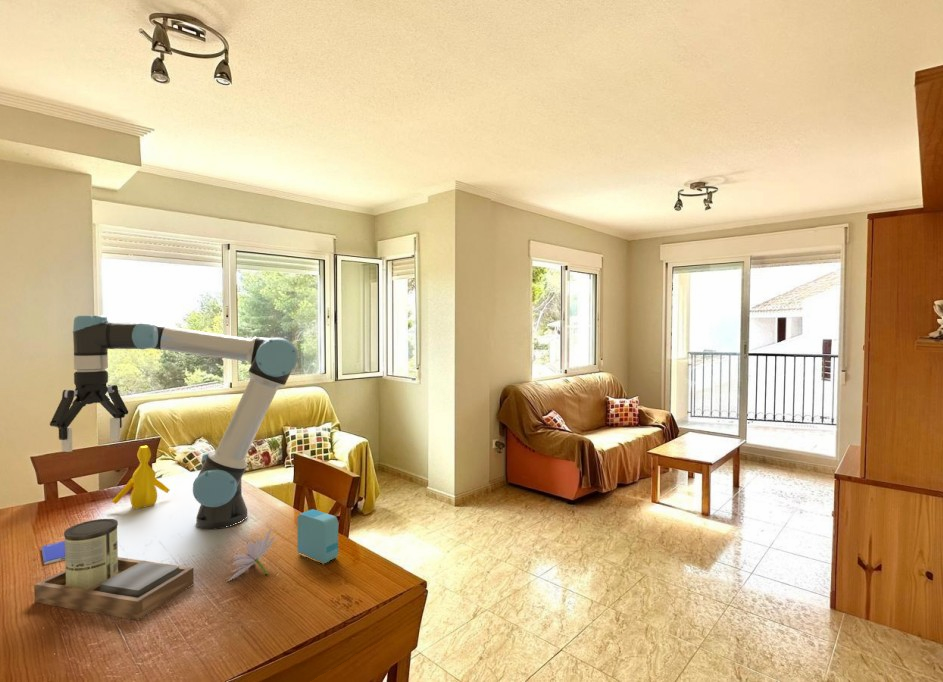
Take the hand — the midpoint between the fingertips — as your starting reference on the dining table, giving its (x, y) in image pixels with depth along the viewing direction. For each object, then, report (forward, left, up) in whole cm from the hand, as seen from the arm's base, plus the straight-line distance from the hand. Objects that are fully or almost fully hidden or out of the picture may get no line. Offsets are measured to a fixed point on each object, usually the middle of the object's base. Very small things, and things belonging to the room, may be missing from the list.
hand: (92, 445), depth 136 cm
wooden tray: (-15, +26, -31) cm, 43 cm away
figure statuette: (0, -38, -31) cm, 49 cm away
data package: (-61, +20, -31) cm, 71 cm away
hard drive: (+9, -3, -31) cm, 33 cm away
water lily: (-45, +24, -31) cm, 59 cm away
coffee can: (-9, +22, -29) cm, 38 cm away
